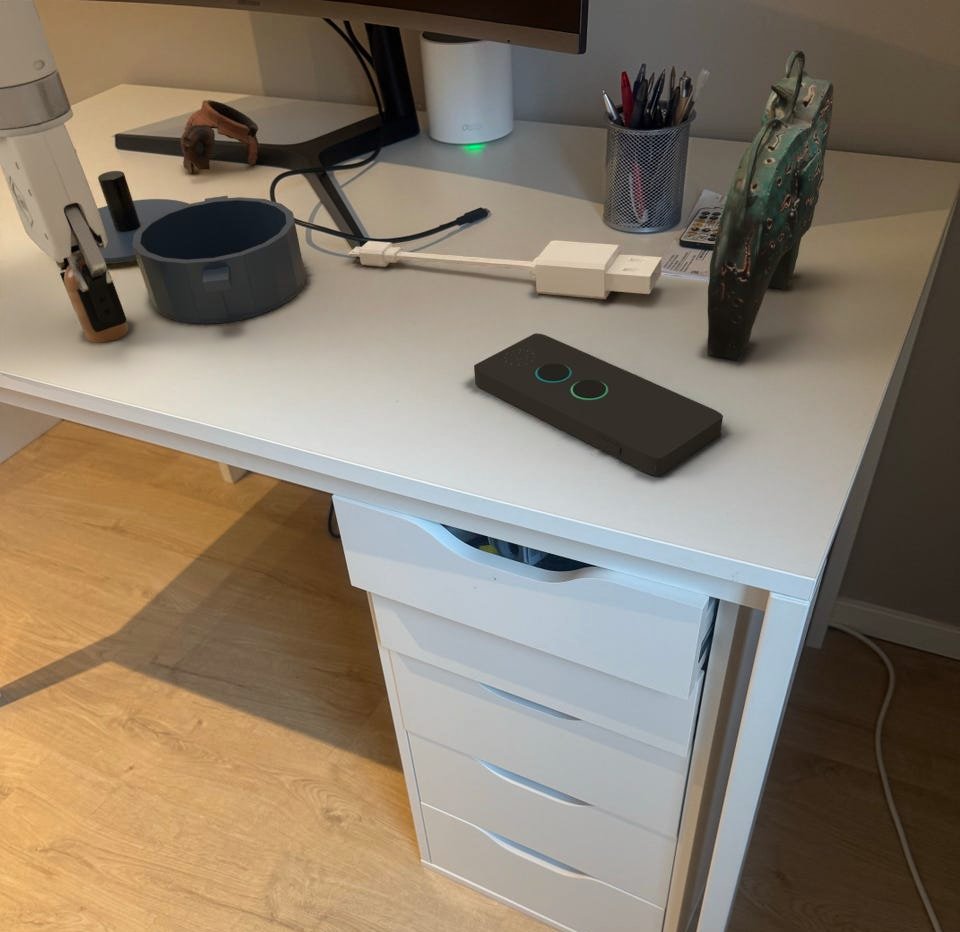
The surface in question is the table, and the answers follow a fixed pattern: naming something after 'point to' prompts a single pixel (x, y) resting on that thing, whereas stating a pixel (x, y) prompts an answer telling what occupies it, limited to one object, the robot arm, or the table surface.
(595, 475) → the table surface
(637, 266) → the charging cable
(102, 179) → the lid
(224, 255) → the pot
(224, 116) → the orange-brown curved ring piece
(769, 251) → the dark green sculpted piece
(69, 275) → the brown domed cylinder
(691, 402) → the smart home device
